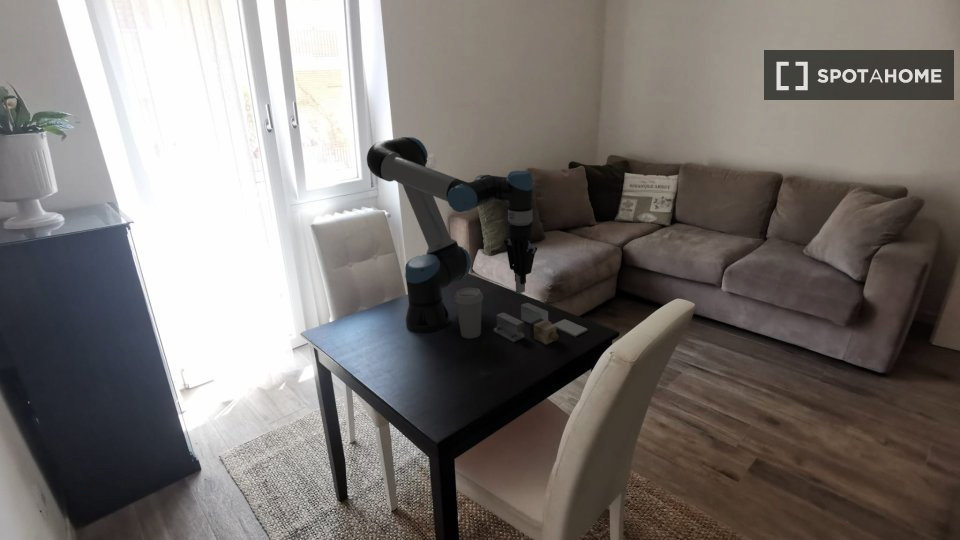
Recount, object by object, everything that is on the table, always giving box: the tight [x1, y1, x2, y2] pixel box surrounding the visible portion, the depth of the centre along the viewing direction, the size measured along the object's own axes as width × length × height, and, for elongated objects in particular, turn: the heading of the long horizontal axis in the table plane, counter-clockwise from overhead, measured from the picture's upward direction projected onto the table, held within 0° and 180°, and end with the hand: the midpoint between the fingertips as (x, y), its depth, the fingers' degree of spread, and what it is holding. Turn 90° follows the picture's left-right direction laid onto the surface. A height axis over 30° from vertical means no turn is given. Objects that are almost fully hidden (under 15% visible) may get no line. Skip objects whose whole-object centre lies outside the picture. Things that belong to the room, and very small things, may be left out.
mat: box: [552, 318, 588, 338], centre depth 162 cm, size 10×6×1 cm, turn 38°
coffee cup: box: [453, 287, 484, 339], centre depth 160 cm, size 10×10×15 cm
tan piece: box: [529, 318, 559, 345], centre depth 156 cm, size 9×5×5 cm, turn 38°
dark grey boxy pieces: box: [493, 302, 552, 343], centre depth 164 cm, size 10×17×6 cm, turn 128°
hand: (520, 291), depth 160 cm, fingers closed
